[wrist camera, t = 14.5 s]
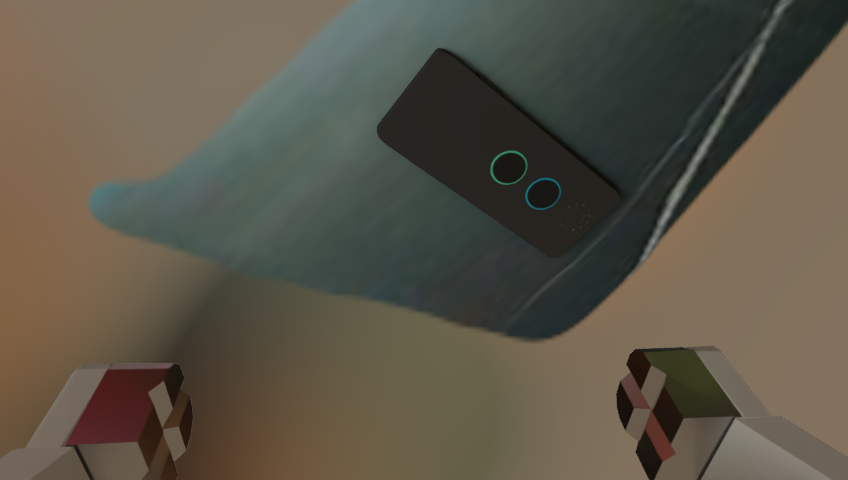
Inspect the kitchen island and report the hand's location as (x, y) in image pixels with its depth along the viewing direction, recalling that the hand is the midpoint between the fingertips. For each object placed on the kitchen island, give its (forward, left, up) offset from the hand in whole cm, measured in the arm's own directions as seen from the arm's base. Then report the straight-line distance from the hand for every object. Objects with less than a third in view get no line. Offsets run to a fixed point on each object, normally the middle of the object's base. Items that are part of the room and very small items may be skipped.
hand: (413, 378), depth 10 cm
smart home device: (+10, +10, -32) cm, 35 cm away
